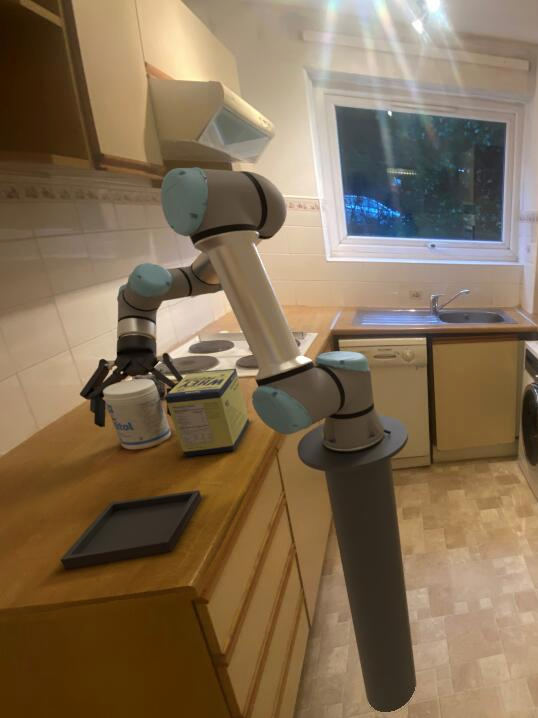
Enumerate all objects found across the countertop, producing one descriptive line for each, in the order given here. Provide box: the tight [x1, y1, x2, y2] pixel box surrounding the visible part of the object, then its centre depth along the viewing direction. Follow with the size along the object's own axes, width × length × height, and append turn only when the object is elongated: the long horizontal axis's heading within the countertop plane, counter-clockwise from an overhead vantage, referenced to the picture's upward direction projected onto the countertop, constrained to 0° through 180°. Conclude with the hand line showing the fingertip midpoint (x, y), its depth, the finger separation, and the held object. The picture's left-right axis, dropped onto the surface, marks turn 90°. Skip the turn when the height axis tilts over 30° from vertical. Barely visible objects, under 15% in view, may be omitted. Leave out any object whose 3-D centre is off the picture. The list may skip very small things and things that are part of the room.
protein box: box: [164, 368, 250, 458], centre depth 104 cm, size 10×16×16 cm
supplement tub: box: [103, 379, 172, 450], centre depth 103 cm, size 10×10×15 cm
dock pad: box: [60, 489, 203, 570], centre depth 77 cm, size 15×15×2 cm
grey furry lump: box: [131, 368, 166, 400], centre depth 130 cm, size 12×11×15 cm
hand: (136, 420), depth 102 cm, fingers open, 13 cm apart
